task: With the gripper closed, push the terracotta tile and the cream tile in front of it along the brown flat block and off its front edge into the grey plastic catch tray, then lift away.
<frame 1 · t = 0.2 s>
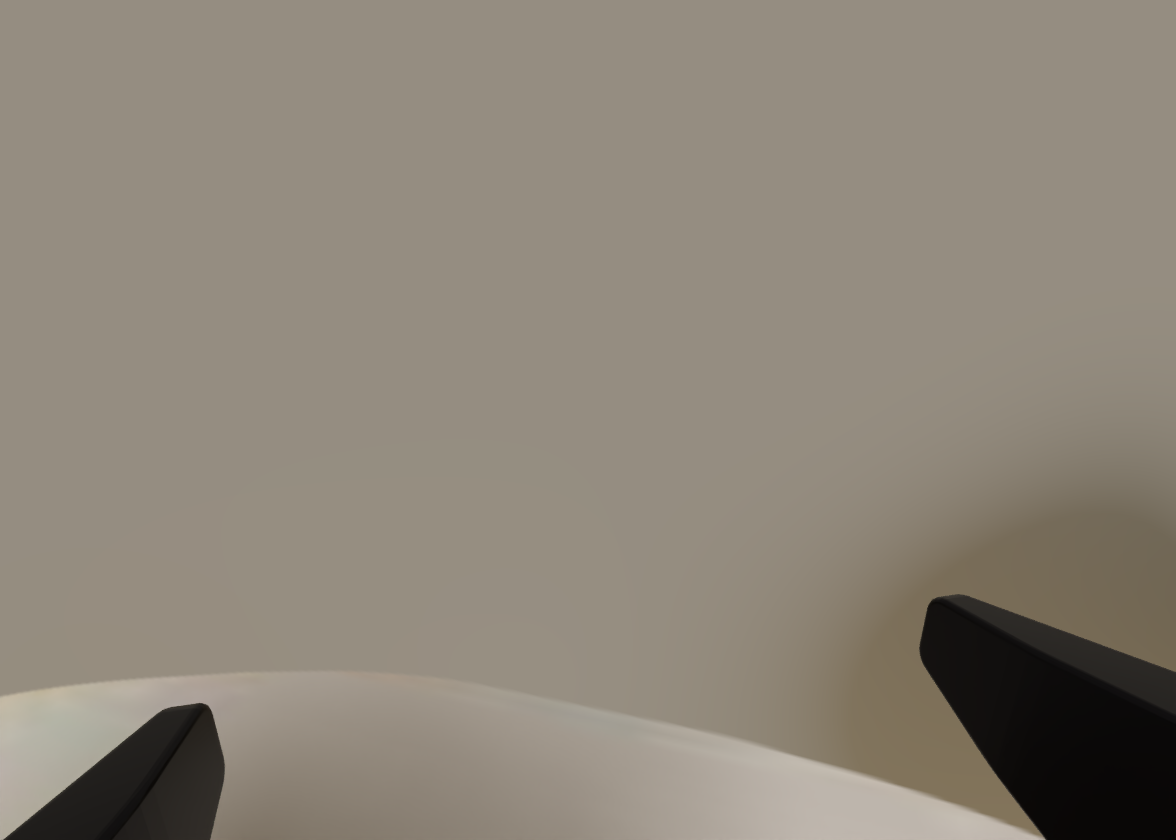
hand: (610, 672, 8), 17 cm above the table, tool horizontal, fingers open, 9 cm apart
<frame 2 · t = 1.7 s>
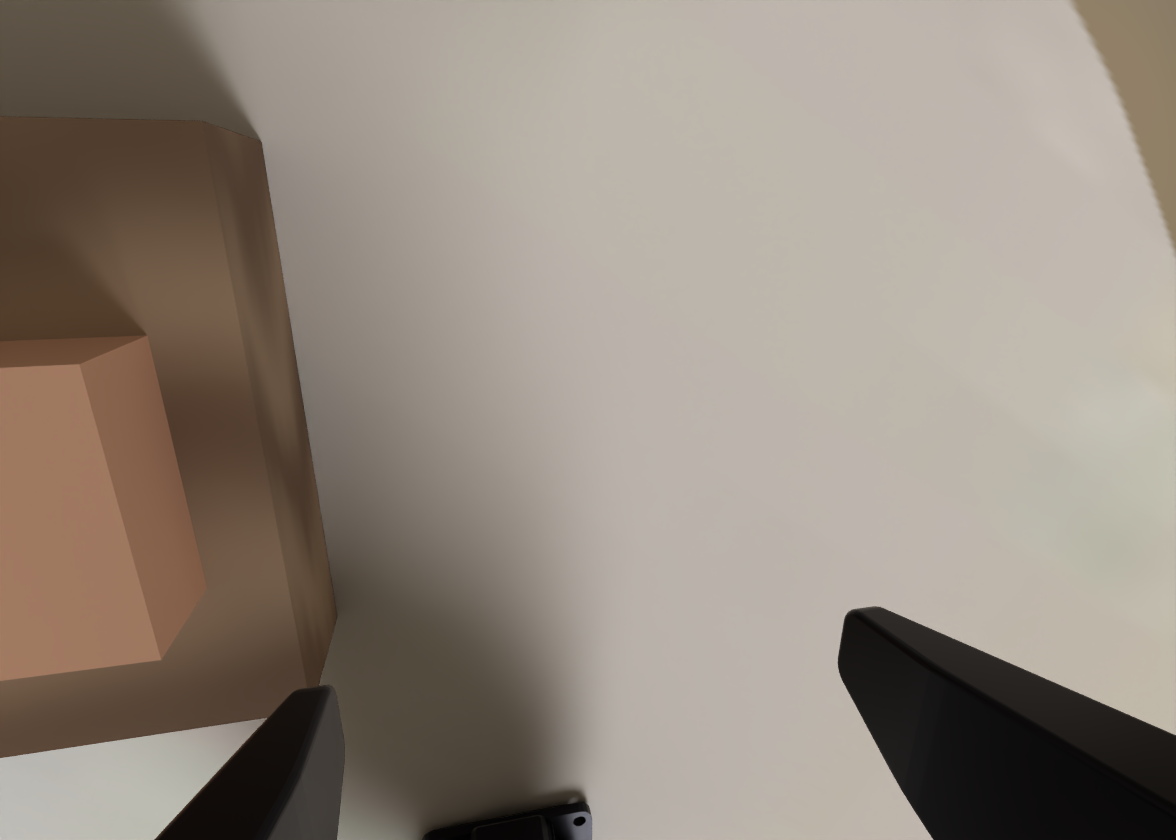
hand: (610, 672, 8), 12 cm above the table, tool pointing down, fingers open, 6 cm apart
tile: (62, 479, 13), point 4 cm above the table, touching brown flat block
brown flat block: (63, 425, 16), on the table
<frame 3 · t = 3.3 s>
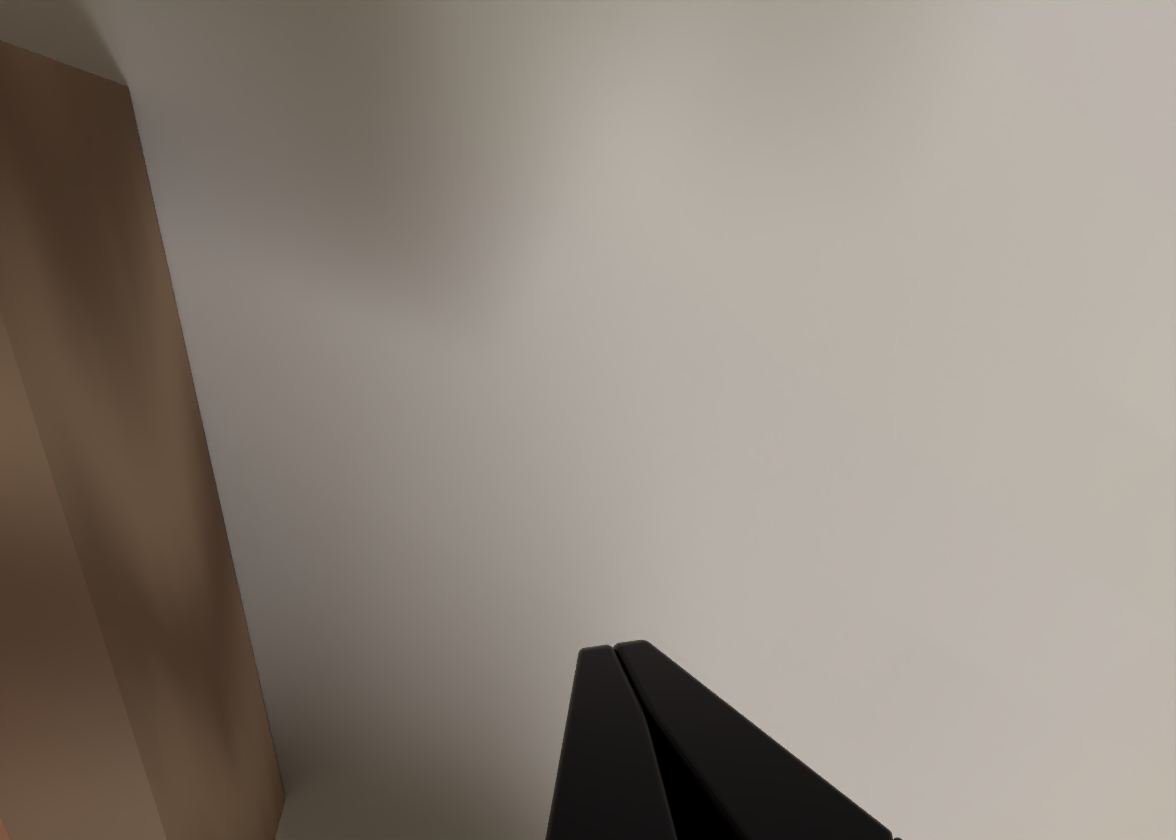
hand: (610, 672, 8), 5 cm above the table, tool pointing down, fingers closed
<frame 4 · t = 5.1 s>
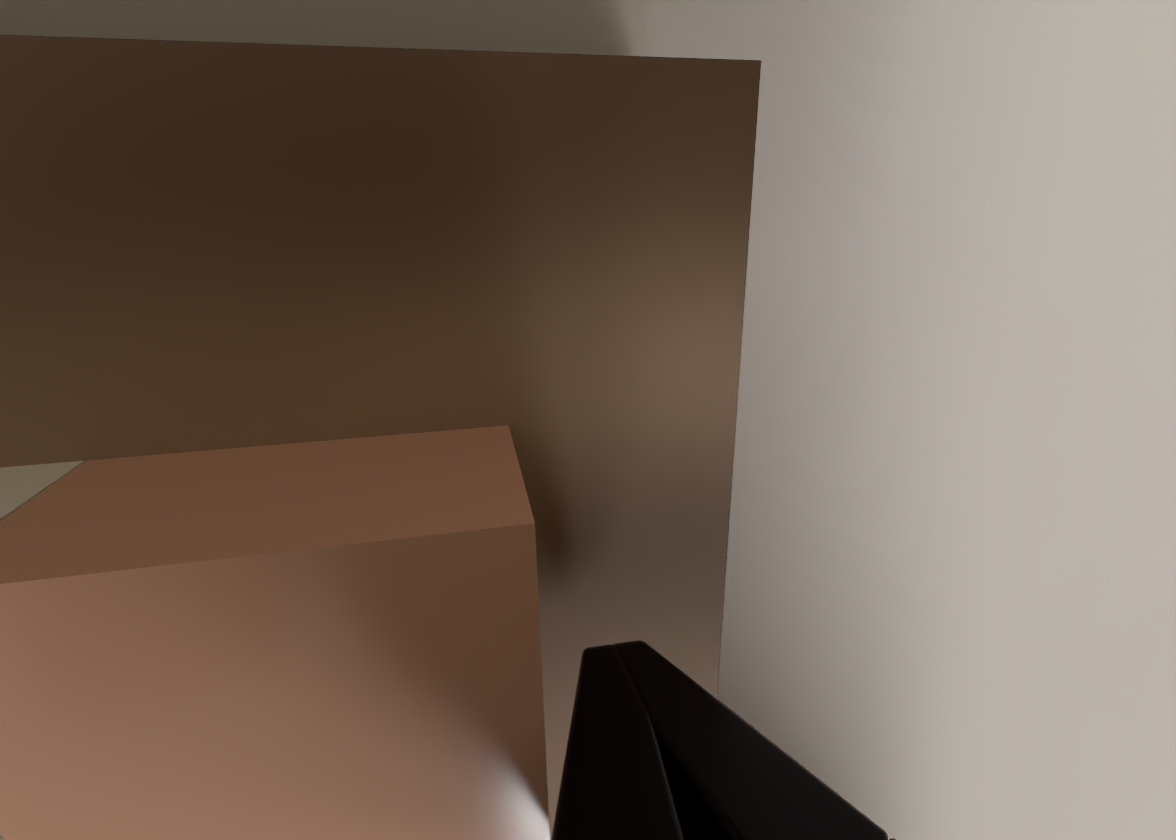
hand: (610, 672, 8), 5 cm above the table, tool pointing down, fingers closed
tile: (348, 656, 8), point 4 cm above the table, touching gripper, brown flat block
brown flat block: (335, 521, 12), on the table
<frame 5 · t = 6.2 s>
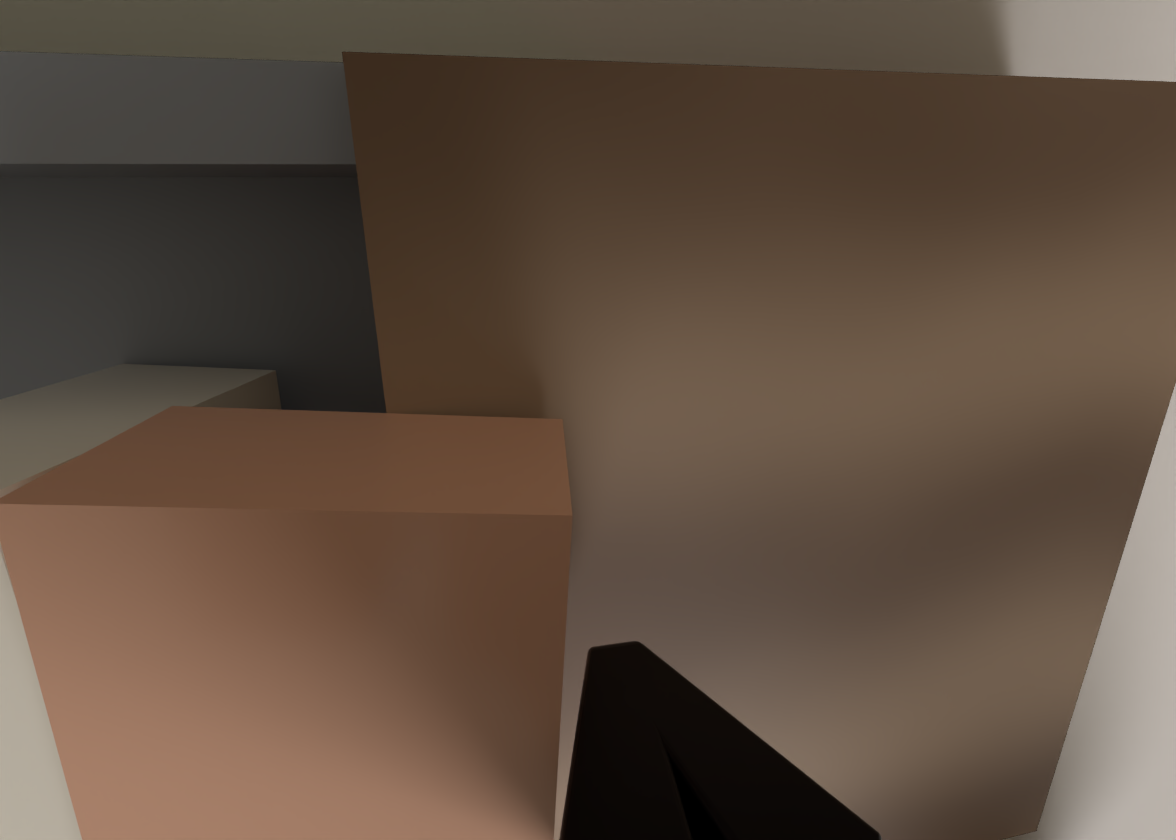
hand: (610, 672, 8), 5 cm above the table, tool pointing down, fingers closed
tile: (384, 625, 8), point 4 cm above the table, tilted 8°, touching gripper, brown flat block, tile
brown flat block: (712, 477, 13), on the table
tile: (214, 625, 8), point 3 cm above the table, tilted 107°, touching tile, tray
tray: (73, 544, 11), on the table
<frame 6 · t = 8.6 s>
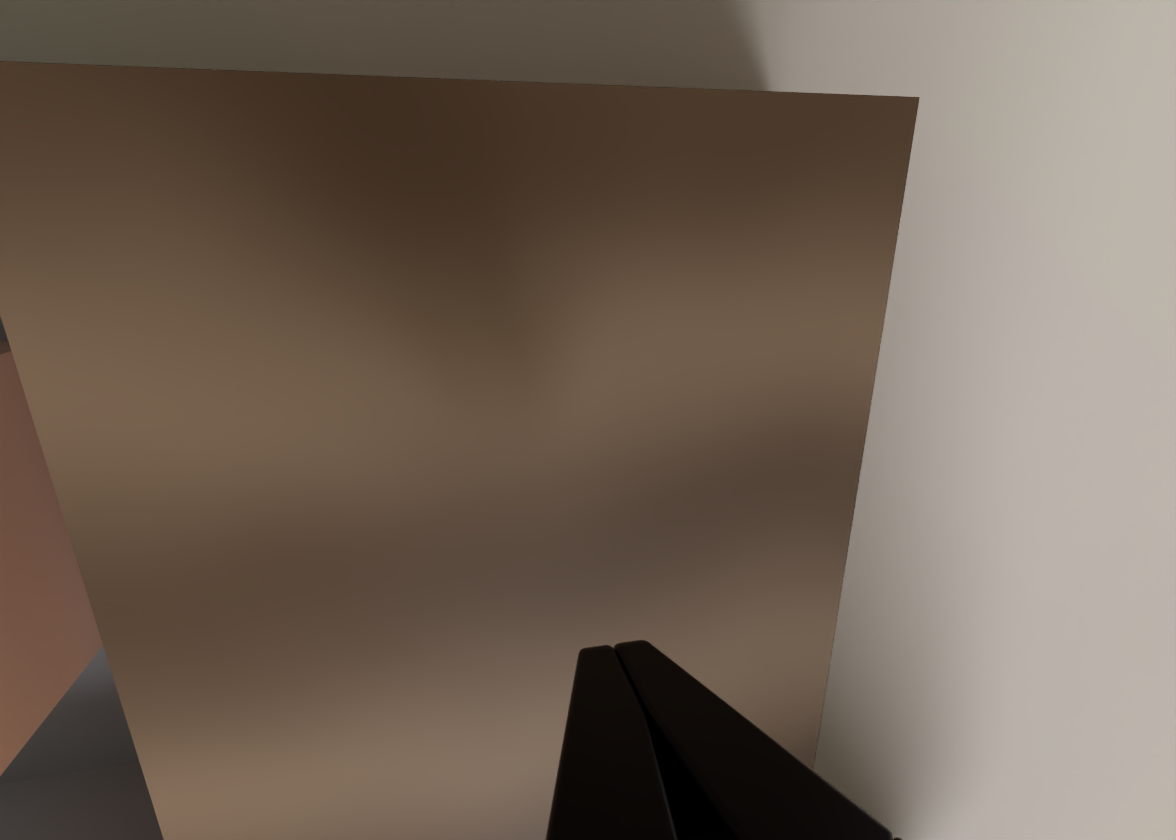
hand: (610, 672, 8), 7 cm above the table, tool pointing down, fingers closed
brown flat block: (498, 470, 14), on the table
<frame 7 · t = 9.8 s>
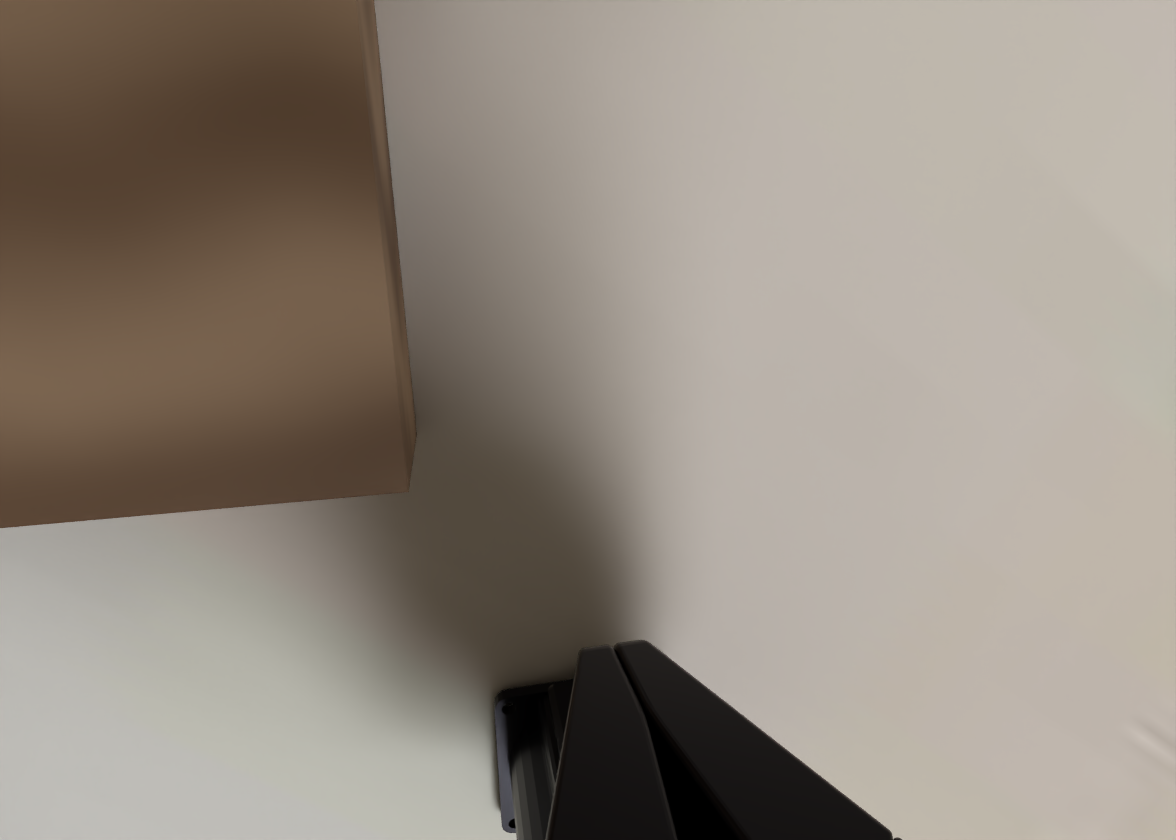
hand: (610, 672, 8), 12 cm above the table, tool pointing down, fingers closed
brown flat block: (134, 182, 15), on the table
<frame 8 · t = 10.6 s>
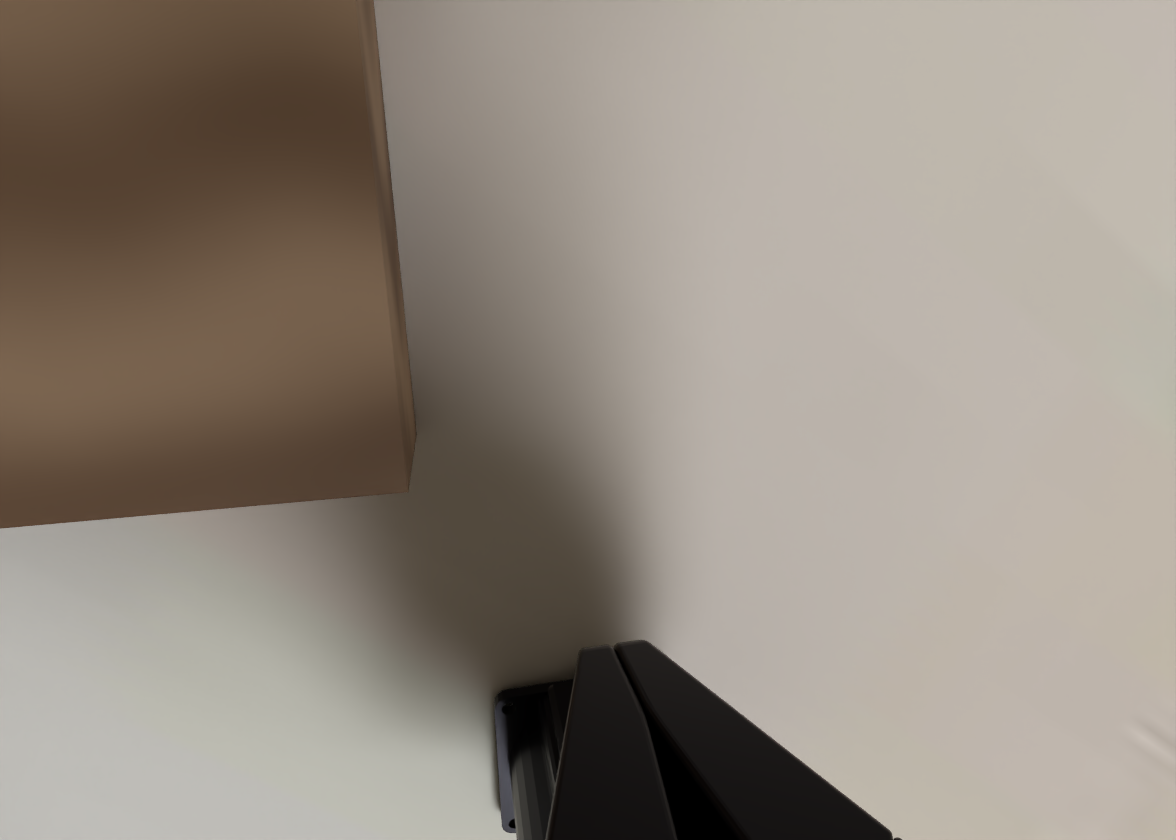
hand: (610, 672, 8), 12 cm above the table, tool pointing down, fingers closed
brown flat block: (134, 182, 15), on the table
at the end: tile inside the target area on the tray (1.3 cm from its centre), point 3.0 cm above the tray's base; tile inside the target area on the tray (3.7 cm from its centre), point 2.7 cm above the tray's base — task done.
